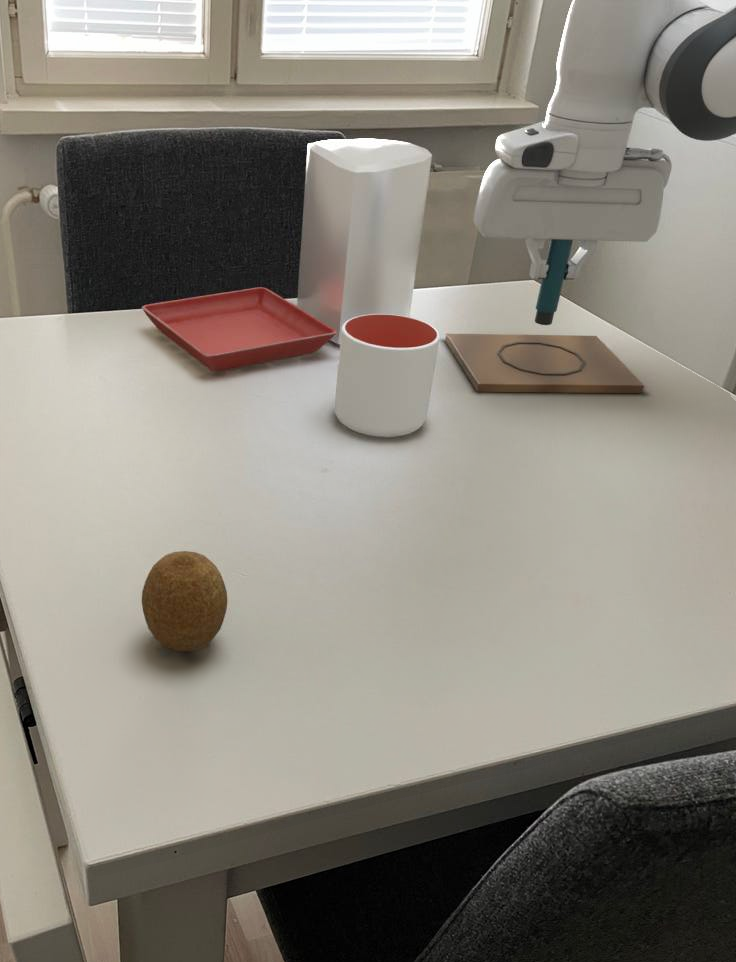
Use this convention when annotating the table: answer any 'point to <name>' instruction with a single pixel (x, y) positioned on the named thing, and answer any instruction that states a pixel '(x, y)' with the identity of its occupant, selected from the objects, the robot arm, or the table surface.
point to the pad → (541, 364)
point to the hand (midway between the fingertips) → (552, 278)
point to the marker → (552, 280)
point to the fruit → (184, 600)
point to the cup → (385, 374)
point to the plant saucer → (239, 328)
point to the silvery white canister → (361, 228)
